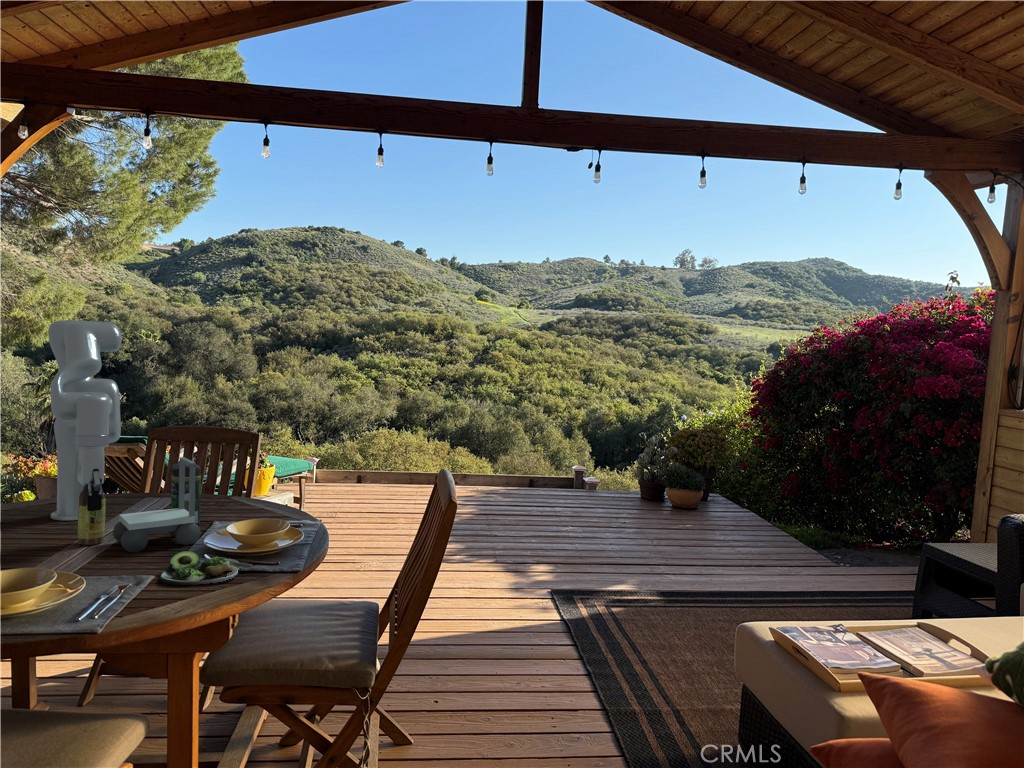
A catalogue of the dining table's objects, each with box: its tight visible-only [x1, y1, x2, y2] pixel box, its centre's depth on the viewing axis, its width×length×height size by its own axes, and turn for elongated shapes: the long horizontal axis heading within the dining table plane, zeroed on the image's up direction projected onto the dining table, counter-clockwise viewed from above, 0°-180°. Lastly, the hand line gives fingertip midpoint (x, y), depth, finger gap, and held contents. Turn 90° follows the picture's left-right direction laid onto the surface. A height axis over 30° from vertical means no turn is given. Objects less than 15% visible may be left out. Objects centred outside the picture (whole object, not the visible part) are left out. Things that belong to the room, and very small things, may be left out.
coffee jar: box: [170, 461, 202, 525], centre depth 209 cm, size 10×8×19 cm
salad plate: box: [159, 550, 253, 587], centre depth 166 cm, size 19×18×5 cm
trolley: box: [112, 456, 202, 554], centre depth 188 cm, size 12×19×22 cm, turn 130°
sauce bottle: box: [76, 474, 107, 546], centre depth 186 cm, size 6×6×20 cm
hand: (91, 506), depth 186 cm, fingers open, 6 cm apart
